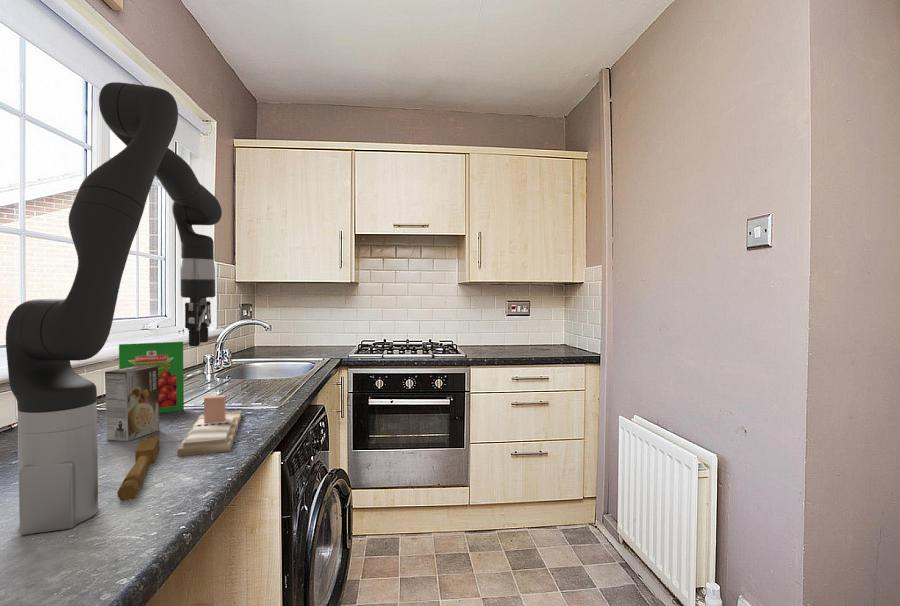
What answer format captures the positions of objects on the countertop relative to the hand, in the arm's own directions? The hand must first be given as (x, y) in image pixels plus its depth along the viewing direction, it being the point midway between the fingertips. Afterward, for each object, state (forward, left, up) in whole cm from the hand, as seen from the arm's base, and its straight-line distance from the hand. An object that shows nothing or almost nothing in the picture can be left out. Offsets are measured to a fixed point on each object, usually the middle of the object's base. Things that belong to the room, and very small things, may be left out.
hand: (199, 344), depth 116 cm
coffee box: (+2, +15, -22) cm, 26 cm away
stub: (-1, -3, -20) cm, 20 cm away
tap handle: (-24, +6, -22) cm, 33 cm away
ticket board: (-3, -3, -22) cm, 22 cm away
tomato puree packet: (+24, +16, -22) cm, 36 cm away
